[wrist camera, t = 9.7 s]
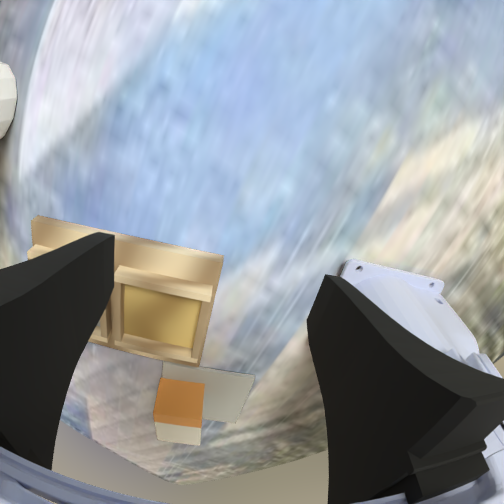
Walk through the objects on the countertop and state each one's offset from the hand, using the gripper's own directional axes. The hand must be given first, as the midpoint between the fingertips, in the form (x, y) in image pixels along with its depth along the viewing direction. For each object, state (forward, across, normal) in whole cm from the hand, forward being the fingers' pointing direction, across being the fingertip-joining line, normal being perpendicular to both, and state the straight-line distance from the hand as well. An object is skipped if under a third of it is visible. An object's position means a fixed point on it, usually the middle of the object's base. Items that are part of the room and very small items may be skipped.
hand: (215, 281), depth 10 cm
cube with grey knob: (+7, +1, +17) cm, 18 cm away
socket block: (+9, +6, +9) cm, 14 cm away
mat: (+9, -1, +19) cm, 21 cm away
